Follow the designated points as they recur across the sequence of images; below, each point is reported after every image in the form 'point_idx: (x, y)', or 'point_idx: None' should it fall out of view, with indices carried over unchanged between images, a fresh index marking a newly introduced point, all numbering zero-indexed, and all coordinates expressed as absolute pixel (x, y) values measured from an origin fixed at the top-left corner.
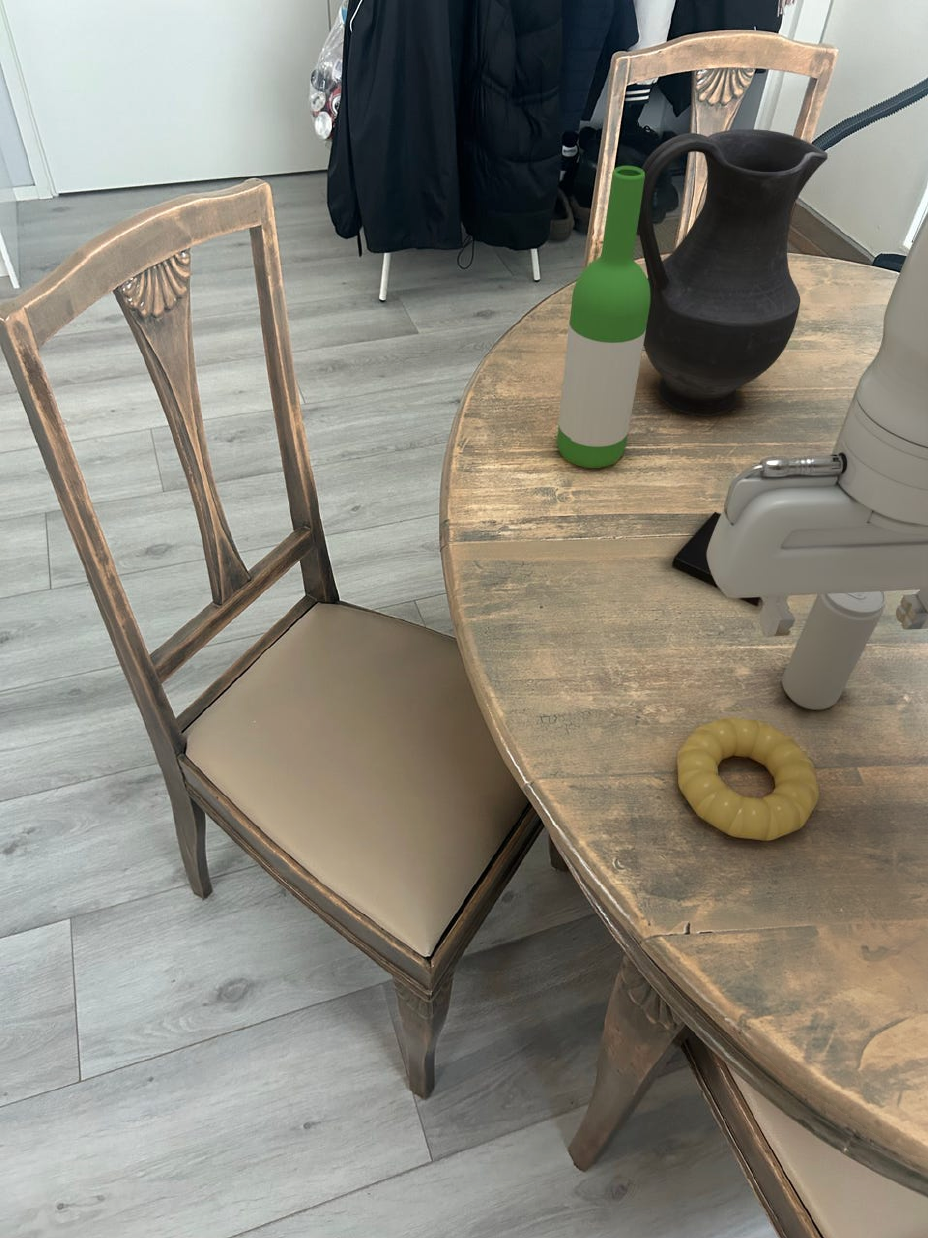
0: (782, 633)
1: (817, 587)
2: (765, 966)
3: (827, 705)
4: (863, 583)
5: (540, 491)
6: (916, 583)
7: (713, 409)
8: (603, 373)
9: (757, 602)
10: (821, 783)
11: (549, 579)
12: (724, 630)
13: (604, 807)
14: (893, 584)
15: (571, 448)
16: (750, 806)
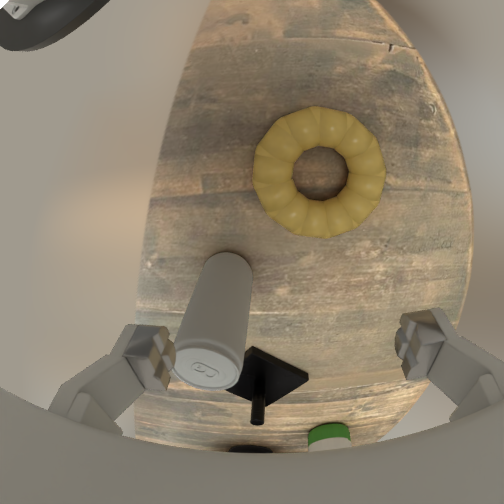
0: (421, 315)
1: (486, 438)
2: (334, 12)
3: (217, 255)
4: (358, 487)
5: (370, 408)
6: (162, 475)
7: (245, 448)
8: None
9: (252, 348)
10: (240, 174)
11: (396, 357)
12: (285, 326)
13: (433, 160)
14: (243, 486)
15: (346, 433)
16: (339, 130)
